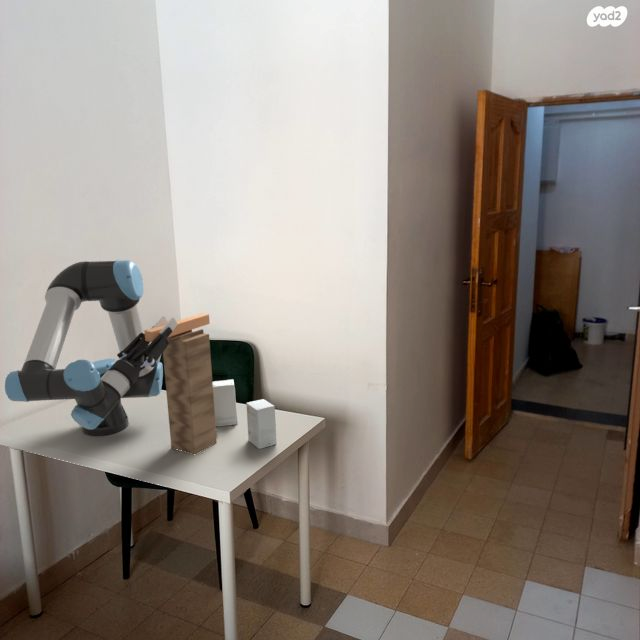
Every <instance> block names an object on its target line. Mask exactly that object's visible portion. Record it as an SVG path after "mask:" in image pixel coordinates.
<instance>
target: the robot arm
mask: <svg viewBox="0 0 640 640" xmlns="http://www.w3.org/2000/svg"><path fill="white" fill-rule="evenodd" d="M142 276H143V275H142V273H141V270H140V268H139V266H138V265H137V263H135V262H134V261H132V260H122V259H117V260H102V261H101V260H99V261H79V262H74V263H73V264H71V265H69V266H67V267H66V268H64V269H62V271H60V272H59V273H58V274H57V275H56V276H55V277H54V279H53V280H52V281H51V282H50V284H49V286H48V287H47V289H46V292H45V295H44V299H45V300H44V301H45V302H46V304H45V306H44V309H43V311H42V313H41V316H40V319H39V322H38V325H37V328H36V330H35V333H34V336H33V338H32V341H31V344H30V346H29V350H28V352H27V354H26V357H25V359H24V363H23V365H22V367H21V370H19V369H17V370H14V371H9V373H8V374H7V376H6V377H5V381H4V391H5V392H4V393H5V395H6V396H7V398H8V399H9V400H10V401H12V402H26V403H28V402H36V401H37V402H38V401H41V402H42V401H61V400H74V401H75V403H76V405H75V406H74V407H73V409H72V410H71V413H70V416H71V418H72V420H73V421H74V422H76V424H78V425H79V426H81V427H82V428H81V429H82V432H83V433H84V434H85V435H89V436H107V435H112V434H115V433H118V432H120V431H123V430H125V429H126V428H127V427H128V426H129V415H127V412H126V411H125V408H124V406H123V405H122V399H129V398H130V399H133V398H134V399H135V398H137V399H138V398H152V397H157V396H159V395H160V394H161V392H162V386H163V377H164V364H163V363H162V362H161V361H159V359H160V357H161V356H162V355H163V352H164V350H165V349H166V348H167V346H168V345H169V343H170V342H169V341H168V339H167V338H168V336H169V335H170V334H171V333H172V331H173V330H174V328H175V327H176V326H177V325H178V324H177V322H176V319H175V317H171V318H170V319H169V320H167V318H166V317H165V316H162V317H161V318H160V319H159V320H158V321H156V323H155V324H154V325H153V326H152V327H151V328H150V329H152V328H156V327H159V326H162V325H165V326H164V327H163V328H162V330H161V331H160V332H159V334H160V335H159V336H158V337H157V338H156V339H155V340H153V341H152V342H148V341H145V332H144V331H146V330H147V329H145V330H144V329H143V326H142V321H141V318H140V314H139V313H140V312H139V310H138V304H139V303H140V299H142V297H143V296H144V282H143V277H142ZM85 302H99V303H100V307H101V308H102V310H104V311H105V312H107V314H108V316H109V319H110V324H111V327H112V330H113V334H114V336H115V340H116V343H117V347H118V350H119V352H118V353H117V355H116V356H117V357H118V359H115V358H104V359H100V360H96V361H93V362H91V361H90V360H86V359H77V360H75V361H73V362H70V363H68V364H67V366H65V368H60V369H59V368H58V369H56V368H57V365H58V361H59V359H60V356H61V352H62V350H63V348H64V343H65V341H66V338H67V335H68V332H69V329H70V325H71V324H72V320H73V316H74V313H75V311H77V310H79V308H80V307H81V304H82V303H85Z"/></svg>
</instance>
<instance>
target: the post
mask: <svg viewBox="0 0 640 640" xmlns="http://www.w3.org/2000/svg"><path fill="white" fill-rule="evenodd" d="M167 339H168V341H169V342H170V343H169V345H168V346H167V348H166V349H165V350H164V352H163V353H162V357H163V371H164V379H165V390H166V400H167V412H168V413H167V415H168V422H169V423H168V424H169V434H170V435H169V437H170V447H171V449H172V448H174V449H173V450H176V449H178V450H177V451H179V450H182V451H181V452H183V451H186V452H189V453H188V454H190V453H192V454H191V455H194V454H196V455H198V454H199V452H200V451H201V452H203V451H204V449H205V450H206V448H207V449H209V448H210V447H212V446H213V444H214V445H215V444H217V443H218V442H217V430H216V429H217V427H216V425H215V411H214V397H213V383H212V382H213V371H212V359H211V358H212V357H211V344H210V334H209V333H204V329H202V328H201V329H198V330H194V331H193V329H192V330H189V331H186V332H183V333H180V334H177V335H174V336H171V337H168V338H167ZM211 445H212V446H211ZM209 446H210V447H209ZM202 450H203V451H202ZM186 452H185V453H186ZM201 452H200V453H201ZM197 453H198V454H197Z"/></svg>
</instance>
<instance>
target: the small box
mask: <svg viewBox="0 0 640 640" xmlns="http://www.w3.org/2000/svg"><path fill="white" fill-rule="evenodd" d="M275 408H276V407H275V405H274V404H272V403H271V402H270V401H267V400H266V399H264V398H261V399H257V400H253V401H249V402H246V417H247V418H246V421H247V423H246V424H247V438H248V442H250V443H251V444H252V445H253V446H254V447H256V448H257V449H264V448H268V447H271V446H274V445H277V429H276V428H277V427H276V425H277V424H276V409H275Z"/></svg>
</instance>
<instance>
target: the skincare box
mask: <svg viewBox="0 0 640 640" xmlns="http://www.w3.org/2000/svg"><path fill="white" fill-rule="evenodd" d="M234 381H235V380H234V379H233V378H232V379H226V380H225V379H224V380H215V381H212V383H213V397H214V411H215V425H216V426H217V427H223V426H232V425H233V426H234V425H238V423H239V422H238V410H237V409H238V408H237V401H236V388H235V382H234Z"/></svg>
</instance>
